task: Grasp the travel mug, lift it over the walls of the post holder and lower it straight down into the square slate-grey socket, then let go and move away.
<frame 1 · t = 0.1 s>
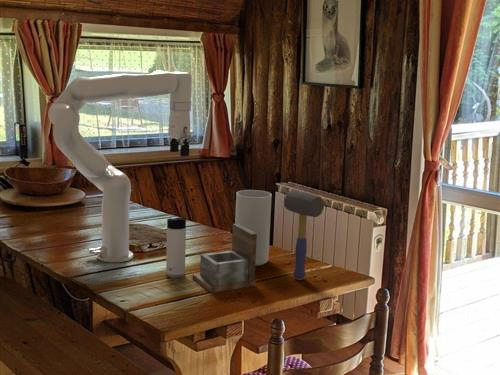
hand: (179, 153, 238), 37 cm above the table, tool pointing down, fingers open, 9 cm apart
cylinder vase: (250, 261, 238), on the table
rubber mallet: (299, 279, 221), on the table
post holder: (223, 282, 215), on the table
travel mug: (175, 275, 220), on the table
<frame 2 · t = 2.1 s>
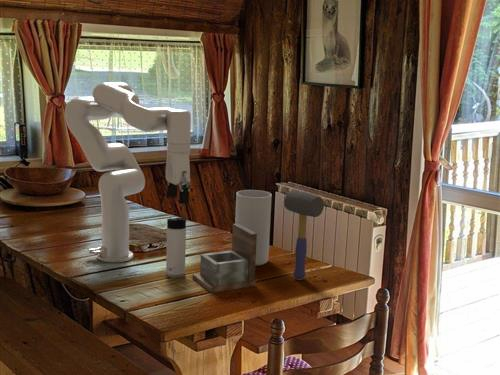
hand: (178, 200, 214), 26 cm above the table, tool pointing down, fingers open, 9 cm apart
nothing on the table moved.
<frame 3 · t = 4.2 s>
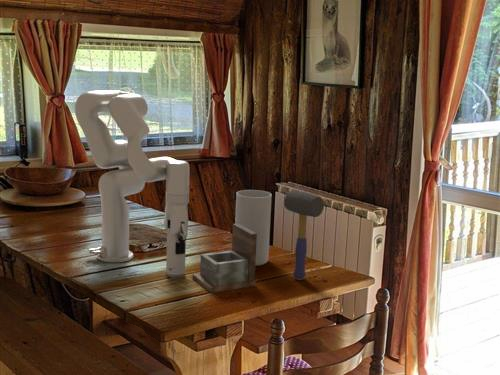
hand: (176, 250, 218), 9 cm above the table, tool pointing down, fingers closed on travel mug, 6 cm apart
travel mug: (175, 275, 220), on the table, touching gripper
everything else where it was.
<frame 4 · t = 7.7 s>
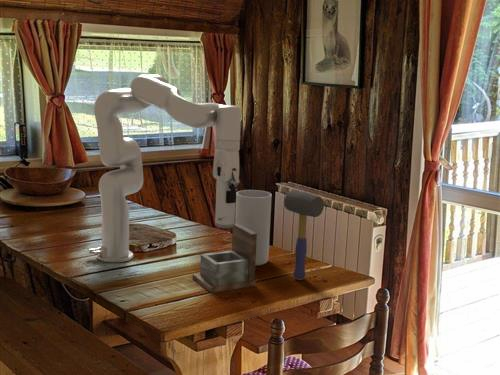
hand: (225, 199, 209), 28 cm above the table, tool pointing down, fingers closed on travel mug, 6 cm apart
travel mug: (224, 226, 211), point 19 cm above the table, touching gripper
everything else where it was.
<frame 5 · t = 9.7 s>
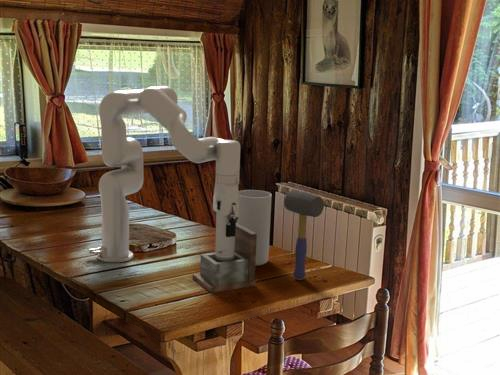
hand: (225, 233, 212), 17 cm above the table, tool pointing down, fingers closed on travel mug, 6 cm apart
travel mug: (224, 258, 213), point 8 cm above the table, touching gripper
everything else where it was.
when the fingers open (11 cm above the table, at t = 11.3 s): travel mug drops 1 cm, resting on post holder.
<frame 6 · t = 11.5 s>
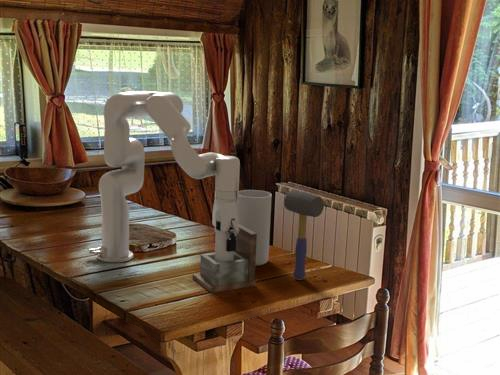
hand: (224, 247, 213), 12 cm above the table, tool pointing down, fingers open, 8 cm apart
travel mug: (223, 278, 214), point 1 cm above the table, touching post holder
everything else where it was.
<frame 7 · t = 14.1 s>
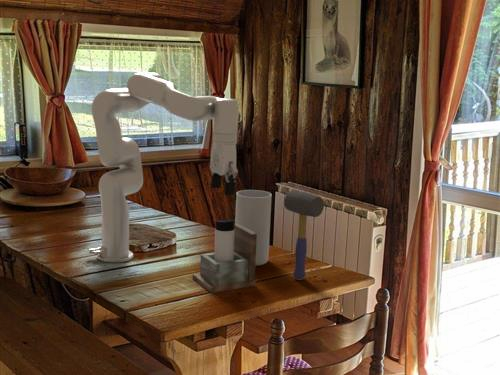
hand: (222, 191, 210), 30 cm above the table, tool pointing down, fingers open, 9 cm apart
nothing on the table moved.
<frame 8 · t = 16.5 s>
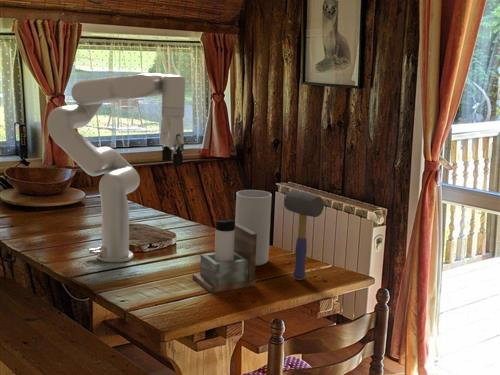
hand: (172, 163, 222), 36 cm above the table, tool pointing down, fingers open, 9 cm apart
nothing on the table moved.
at the end: travel mug 0.4 cm off-centre on the post holder, point 1.3 cm above the post holder's base; travel mug tilted 0°; the gripper is holding nothing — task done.
